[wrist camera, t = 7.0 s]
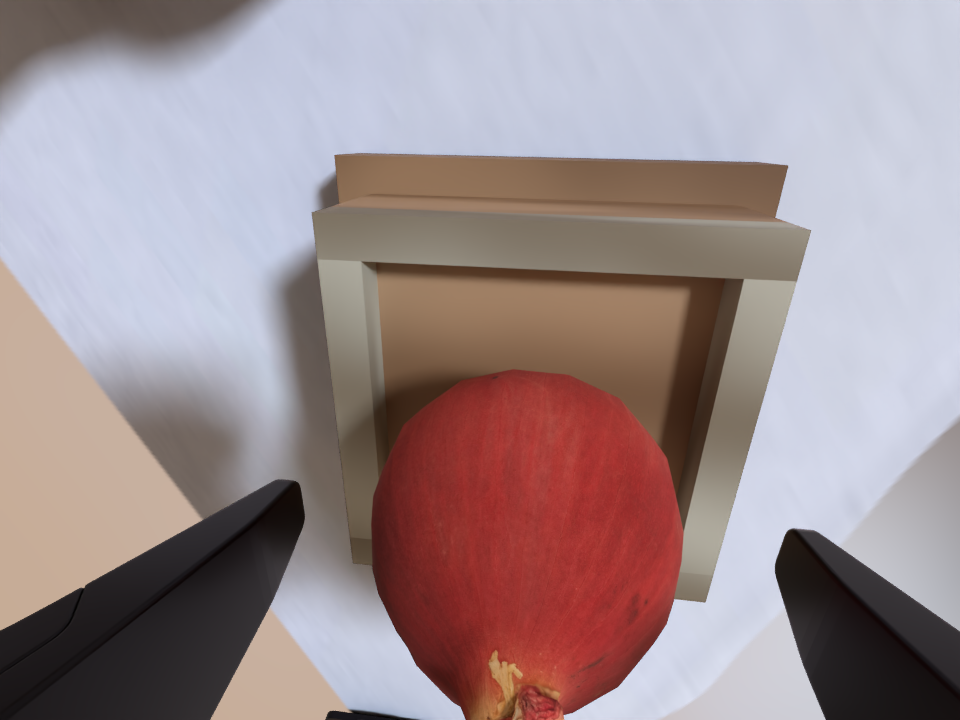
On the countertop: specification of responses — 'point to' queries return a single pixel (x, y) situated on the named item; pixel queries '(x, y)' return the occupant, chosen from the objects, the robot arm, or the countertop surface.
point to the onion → (526, 543)
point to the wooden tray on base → (560, 304)
